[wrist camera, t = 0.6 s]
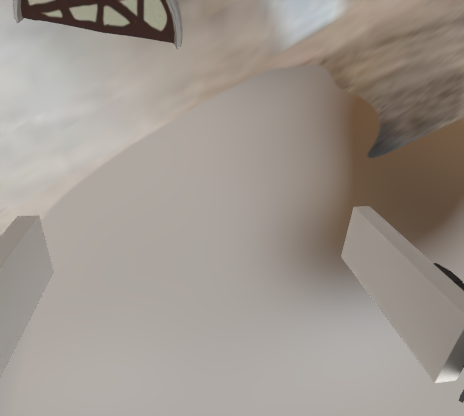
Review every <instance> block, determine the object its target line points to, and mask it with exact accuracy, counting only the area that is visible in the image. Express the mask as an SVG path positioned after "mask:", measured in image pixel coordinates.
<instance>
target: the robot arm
mask: <svg viewBox="0 0 464 416" xmlns="http://www.w3.org/2000/svg"><path fill="white" fill-rule="evenodd" d="M341 257H342V258H343V260H344V261H345V262H346V264H347V265H348V266H349V268H350V269H351V271H352V272H353V273H354V275H355V276H356V277H357V278H358V280H359V281H360V283H361V284H362V285H363V287H364V288H365V289H366V291H367V292H368V293H369V295H370V296H371V298H372V299H373V300H374V302H375V303H376V304H377V306H378V307H379V308H380V309H381V311H382V312H383V314H384V315H385V317H386V318H387V319H388V320H389V322H390V323H391V325H392V326H393V327H394V329H395V330H396V331H397V333H398V334H399V335H400V337H401V338H402V339H403V341H404V342H405V344H406V345H407V346H408V348H409V349H410V350H411V352H412V353H413V354H414V356H415V357H416V358H417V360H418V361H419V363H420V364H421V365H422V367H423V368H424V369H425V371H426V372H427V373H428V375H429V376H430V377H431V379H432V380H433V381H434V383H439V382H447V381H454V380H457V378H458V376H459V375H460V373H461V371H462V369H463V368H464V284H463V283H462V281H461V280H460V279H459V278H458V277H457V276H456V275H454V274H453V273H452V272H451V271H449V270H447V269H446V268H444V267H442V266H440V265H438V264H437V263H432V262H431V261H430V260H429V259H427V258H426V257H425V256H424V255H423V254H422V253H421V252H420V251H418V250H417V249H416V248H415V247H414V246H413V245H412V244H411V243H410V242H409V241H407V240H406V239H405V238H404V237H403V236H402V235H401V234H400V233H399V232H397V231H396V230H395V229H394V228H393V227H392V226H391V225H390V224H389V223H387V222H386V221H385V220H384V219H383V218H382V217H381V216H380V215H378V214H377V213H376V212H375V211H374V210H373V209H372V208H371V207H370V206H367V207H354V208H353V212H352V216H351V221H350V224H349V228H348V232H347V236H346V240H345V244H344V248H343V252H342V256H341ZM52 274H53V268H52V264H51V260H50V256H49V252H48V248H47V244H46V240H45V236H44V232H43V229H42V225H41V221H40V217H39V216H17V218H16V219H15V220H14V221H13V222H12V223H11V225H10V226H9V227H8V228H7V229H6V231H5V232H4V233H3V234H2V235H1V236H0V377H1V375H2V374H3V371H4V370H5V368H6V366H7V363H8V362H9V360H10V358H11V355H12V353H13V352H14V350H15V348H16V346H17V344H18V342H19V340H20V338H21V336H22V334H23V332H24V330H25V328H26V326H27V324H28V322H29V320H30V318H31V316H32V314H33V312H34V310H35V308H36V306H37V304H38V302H39V300H40V298H41V296H42V294H43V292H44V290H45V288H46V286H47V284H48V282H49V280H50V278H51V276H52ZM459 401H461V402H463V401H464V390H463V392H462V394H461V395H460V398H459Z"/></svg>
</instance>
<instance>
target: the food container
mask: <svg viewBox="0 0 464 416" xmlns="http://www.w3.org/2000/svg"><path fill="white" fill-rule="evenodd" d="M13 10H14V19H15V20H16V22H17V23H19V22H20V21H21V20H22V19H23V18H27V19H32V20H41V21H48V22H53V23H59V24H64V25H70V26H75V27H80V28H84V29H89V30H94V31H98V32H103V33H111V34H119V35H127V36H134V37H141V38H147V39H152V40H158V41H165V42H171V43H174V44H175V46H176V48H177V49H178V47H181V43H182V20H181V14H180V10H179V6H178V2H177V0H13Z"/></svg>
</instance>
